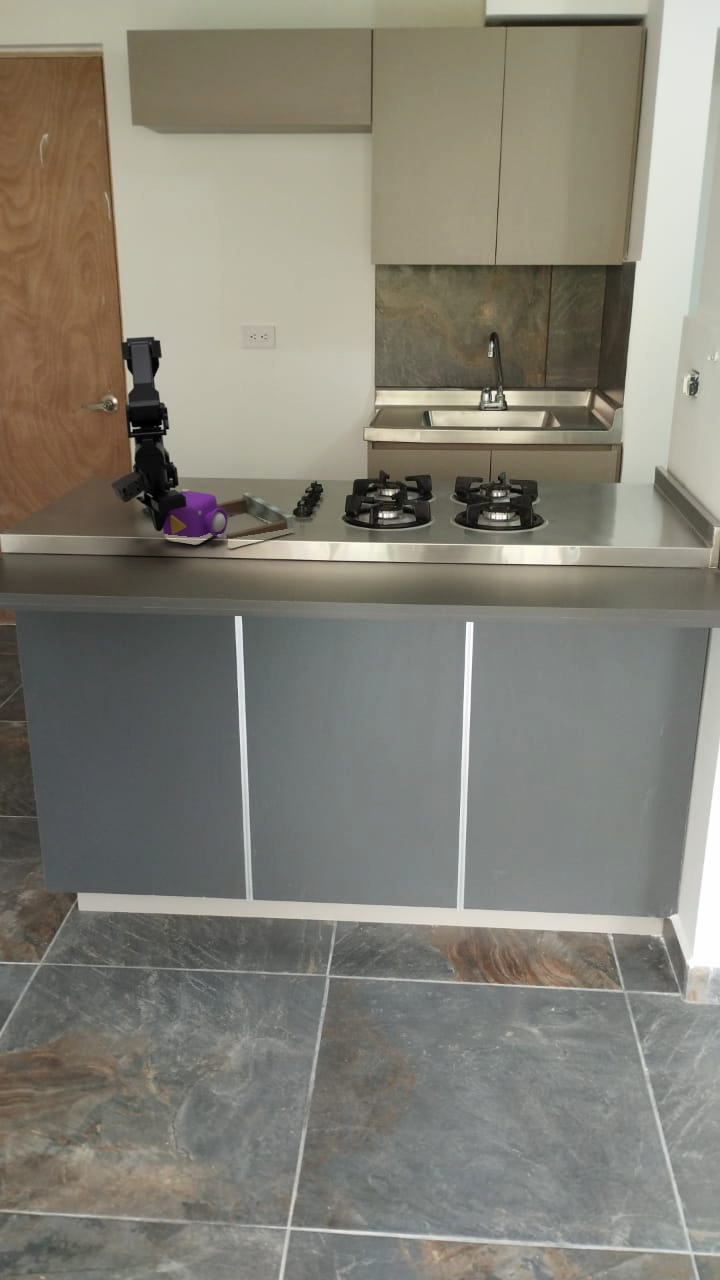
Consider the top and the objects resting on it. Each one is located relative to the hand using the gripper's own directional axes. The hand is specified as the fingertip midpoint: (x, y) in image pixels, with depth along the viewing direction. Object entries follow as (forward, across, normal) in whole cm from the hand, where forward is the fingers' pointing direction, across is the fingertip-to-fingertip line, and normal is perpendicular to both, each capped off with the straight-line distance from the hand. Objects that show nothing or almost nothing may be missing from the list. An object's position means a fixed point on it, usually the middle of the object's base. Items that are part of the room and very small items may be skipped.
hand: (158, 530), depth 229 cm
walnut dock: (+4, 0, +20) cm, 20 cm away
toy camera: (+4, 0, +9) cm, 10 cm away
